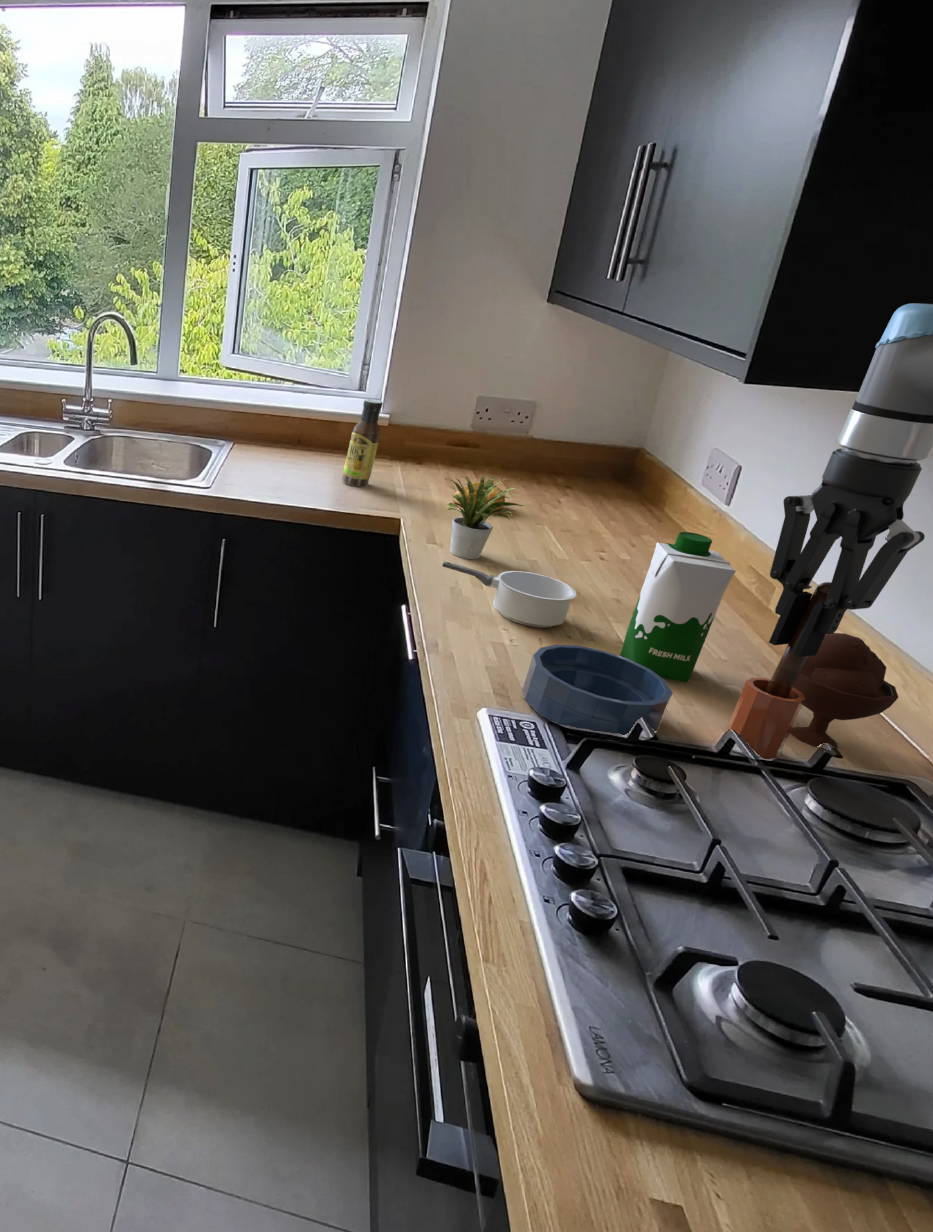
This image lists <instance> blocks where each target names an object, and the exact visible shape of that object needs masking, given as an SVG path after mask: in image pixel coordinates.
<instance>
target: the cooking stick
mask: <svg viewBox="0 0 933 1232" xmlns="http://www.w3.org/2000/svg"><path fill="white" fill-rule="evenodd" d="M831 582H832V581H831ZM831 582H830V581H824V582H822V583H820V584H818V585H817V586H816V588H814V592H813V593H812V594H813V595H812V597H811V599H810V601H809V603H808V605H807V607H806V609H805V611H804V613H803V615H802V617H801V620H800V622H799V624H798V626H797V628H796V630H795V632H794V634H793V636H792V638H791V640H790V642H789V644H787V645H786V648H785V650H784V652H783V654H782V655H781V658H780V660H779V662H778V664H777V665H776V668H775V670H774V672H773V673H772V676H771V678H770V682H769V684H768V686H767V688H766V690H765V692H766V693H768V694H770V695H773V696H777V697H781V698H785V699H787V697H788V695H789V693H790V691H791V689H792V687H793V686H794V684H795V682H796V680H797V678H798V676H799V674H800V672H801V670H802V668H803V666H804V664H805V662H806V660H807V658H808V656H805V657H799V656H796V655H794V651H795V649H796V647H797V645H798V642H799V640H800V638H801V636H802V634H803V631H804V629H805V627H806V625H807V622H808V620H809V618H810V616H811V613H812V611H813V609H814V607H815V605H816V603H821V602H822V601H826V598H827V595H828V592H829V589H830V585H831Z"/></svg>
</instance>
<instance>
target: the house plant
mask: <svg viewBox="0 0 933 1232" xmlns="http://www.w3.org/2000/svg"><path fill="white" fill-rule="evenodd" d="M486 475H487V470H484V473H483V474H482V476H481V478H480V481H479V482H480V484H479V487H478V490H477V494H476V499H475V504H474V488H473V485H472V483H473V482H472V480H471V479H470V478H469V477H468V476H467V475H465V476H463V475H461V477H462V478H464V479H465V480H466V482H467V485H466V486H468V489H469V506H468V501H467V496H466V492H465V490H464V488H463V487H464V486H463V484H462V483H461V480H460V479H458V478H457V477H455V476H454V477H455V479H456V481H458V482H456V481H454V480H453V479H447V478H445V480H447V481H449V482H453V484H454V485H455V487H456V488H457V491H458V490H459V492H460V493H461V495H462V496H460V495H457V494H456V495H454V494H452V495H451V496H452V497H454V498H456V499H457V500H458V501H459V502H460V503H461V505H460V506H461V507H462V508H461V507H459V506H458V504H456V503H454V502H449V503H448V504H447V505H446V506H445V508H447V509H446V511H458V512H460V513H461V515H462V517H455V518H453V519H452V526H451V538H450V548H449V549H450V550H449V551H450V553H451V554H452V555H453V556H455V557H458V558H462V559H465V560H477V559H479V558H480V556H481V554H482V553H483V550H484V548H485V545H486V543H487V542H488V539H489V537H490V536H491V533H492V530H493V529H494V527H493V525H492V524H490V523H489V522H487V521H489V520H491V519H493V518H494V517H500V518H501V517H502V518H506V519H507V520H509V521H511V518H510V517H509V516H508V515H510V516H511V517H514V515H513V512H511V511H508V510H504V509H498V510H495V509H496V508H498V507H501V508H503V507H511V506H519V507H524V505H523V504H519V503H516V502H511V501H510V502H509V501H505V502H496V503H493V504H491V503H492V502H495V500H496V499H499V497H501V496H503V495H505V499H510V497H509V496H506V495H507V494H508V492H510V491H512V490H515V489H519V488H520V486H515V487H514V486H513V487H510V488H507V489H505V490H502V491H503V492H501V493H500V494H498V495H496V496H495V497H494V498H492V499H490V500H486V501H485V499H486V497H487V496H488V494H489V493H490V492H491V491H492V490H493V489H494V488H495V487H496V486H497V487H498V485H500V484H502V483H503V482H504V481H506V478H504V479H502V480H499V481H497V482H496V483H494V481H495V479H496V475H494V476H492V477H490V478H488V480H486V482H485V479H486ZM484 482H485V485H484ZM462 488H463V489H462ZM463 490H464V491H463ZM464 492H465V493H464ZM511 495H512V496H518V494H516V493H510V496H511ZM501 498H504V497H501ZM484 502H486V503H484ZM490 504H491V505H490ZM457 508H458V509H457ZM494 510H495V511H494ZM499 512H500V513H499ZM507 514H508V515H507ZM490 517H491V518H490Z"/></svg>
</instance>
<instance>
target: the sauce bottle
mask: <svg viewBox="0 0 933 1232" xmlns="http://www.w3.org/2000/svg"><path fill="white" fill-rule="evenodd" d="M362 406H363V408H362V412H361V416H360V420H359V421H358V422H357V423H356V424H355V425H354V427H353V430H352V432H351V436H350V441H349V444H348V449H347V453H346V456H345V457H346V458H345V462H344V466H343V469H342V470H343V471H342V478H341V480H342V482H343V483H345V484H346V485H348V486H352V487H357V488H364V487H366V486H368V485H369V481H370V479H371V475H372V471H373V466H374V463H375V460H376V459H375V458H376V455H377V452H378V451H377V450H378V446H379V440H380V437H381V428H380V425H379V422H378V421H379V416H380V412H381V410H382V407H383V401H382V400H379V399H374V398H366V399H364V401H363V405H362Z"/></svg>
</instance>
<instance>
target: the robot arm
mask: <svg viewBox="0 0 933 1232" xmlns="http://www.w3.org/2000/svg"><path fill="white" fill-rule="evenodd" d="M874 348H875V351H874V355H873V356H872V359H871V362H870V364H869V367H868V369H867V371H866V374H865V376H864V378H863V381H862V384H861V386H860V389H859V391H858V394H857V396H856V398H855V400H854V403H853V405H852V407H851V408H850V410H849V413H848V415H847V417H846V420H845V422H844V424H843V427H842V429H841V431H840V433H839V435H838V438H837V440H836V443H837V445H839V446H840V448H836V449H835V450H833V451H832V452H831V455H830V457H829V459H828V462H827V464H826V467H825V469H824V471H823V474H822V476H821V479H822V480H821V483H820V485H819V486H818V487H816V488H815V489H814V490H813V491H812V493H811V494H806V495H788V496H786V497H784V499H783V510H784V519H783V522H782V526H781V530H780V533H779V537H778V542H777V545H776V549H775V552H774V556H773V560H772V564H771V567H770V571H769V576H770V578H771V579H772V580H776V581H778V583H780V584H781V586H782V589H783V590H782V592H781V594H780V596H779V599H778V601H777V603H776V606H775V609H774V611H775V612H774V613H775V614H776V615H779V617H778V619H777V622H776V624H775V627H774V628H773V631H772V634H771V636H770V637H769V640H768V643H769V644H771V645H773V646H781V645H788V644H789V642H790V640H791V638H792V636H793V634H794V632H795V630H796V628H797V626H798V624H799V622H800V620H801V617H802V615H803V613H804V611H805V609H806V607H807V605H808V603H809V601H810V599H811V597H812V595H813V593H811V592H808V591H805V590H810V589H812V588H813V586H812V585H810V584H811V582H812V580H813V579H814V577H815V575H816V574H817V573H818V570H819V569H820V567H822V564H823V563H824V560H825V559H826V557H827V555H828V554H829V552H830V551H831V549H832V547H833V545H834V544H835V542H836V541H837V540H838V539H840V538H841V540H840V544H839V547H840V549H841V550H840V553H839V556H838V560H837V563H836V566H835V569H834V572H833V575H832V580H831V585H830V589H829V592H828V595H827V598H826V601H822V602H821V603H816V605H815V607H814V609H813V611H812V613H811V616H810V618H809V620H808V622H807V625H806V627H805V629H804V631H803V634H802V636H801V638H800V640H799V642H798V645H797V647H796V649H795V651H794V655H796V656H799V657H805V656H813V655H816V654H817V652H818V650H819V648H820V645H821V643H822V641H823V639H824V637H825V635H826V634H833V633H836V631H838V628H839V626H840V624H841V622H842V619H843V618H844V616H845V613H846V612H847V610H850V611H853V610H854V611H855V610H864V609H865V610H866V609H870V608H871V607H872V606H873V604H874V603H875V601H876V600H877V598H878V597H879V595H880V594H881V592H882V591H883V590H884V588H885V587H886V585H887V584H888V582H889V580H890V579H891V578H892V576H893V575H894V573H895V571H896V570H897V568H898V567H899V566H900V564H901V562H902V561H903V560H904V558H905V556H906V555H907V553H908V552H909V551H910V550H912V549H914V548H915V547H917V546H918V545H919V544H921V543H922V542H923V541H924V540H925V537H926V536H925V533H924V532H922V531H920V530H913V529H912V528H911V527H910V526H909V525H908V524H907V523H906V522H905V521H904V520H903V519H904V515H905V514H904V504H905V502H906V501H907V499H908V498H909V496H910V495H911V493H912V491H913V489H914V487H915V485H916V482H917V480H918V478H919V476H920V473H921V472H922V470H923V468H922V466H921V464H920V463H919V462H918V461H923V460H925V459H927V458H928V456H929V454H930V452H931V449H932V448H933V304H932V303H919V302H918V303H915V302H914V303H913V302H912V303H907V304H906V303H905V304H903V305H902V306H899V307H898V308H897V309H896V310H895V311H894V312H893V314H892V315H891V318H890V320H889V321H888V323H887V326H886V328H885V330H884V332H883V334H882V336H881V338H880V339H879V341H878V342H877V343H876V344H875V346H874ZM813 511H814V514H815V518H816V521H815V522H814V524H813V526H812V528H811V529H810V532H809V538H808V540H807V541H806V543H804V542H805V539H806V535H807V532H808V528H809V525H810V520H811V513H813ZM888 530H889V532H888V533H887V535H886V536H885V537H884V539H885V541H886V542H885V543H884V544H883V545H882V546H881V547H880V548H879V550H878V551H877V552H876V554H875V555H874V557H873V559H872V560H871V562H870V563H869V565H868V566H867V568H866V569H865V570H864V572H863V569H864V566H865V563H866V560H867V557H868V554H869V551H870V550H872V548H873V546H874V544H875V541H876V538H877V536H878V535H880V534H882V533H884V532H886V531H888ZM804 544H805V545H804ZM803 546H804V547H803ZM862 573H863V574H862Z"/></svg>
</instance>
